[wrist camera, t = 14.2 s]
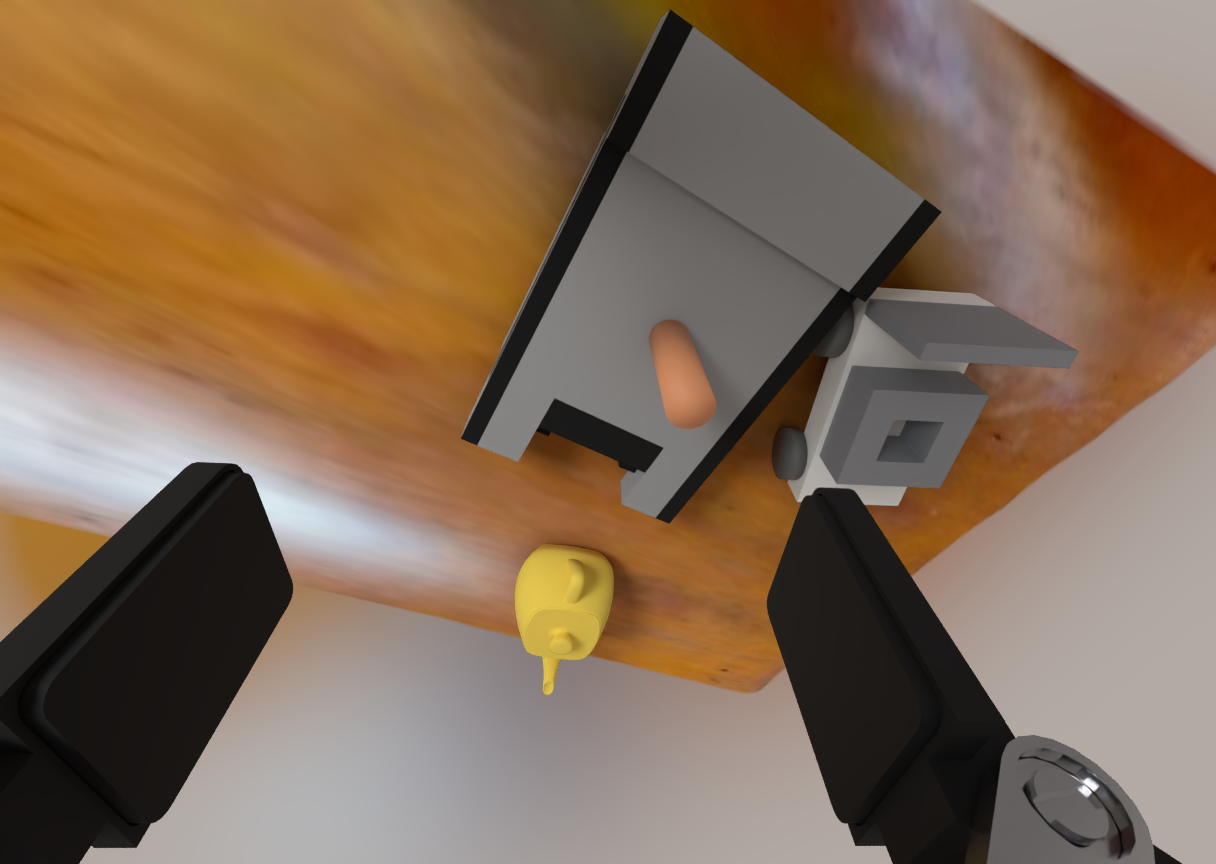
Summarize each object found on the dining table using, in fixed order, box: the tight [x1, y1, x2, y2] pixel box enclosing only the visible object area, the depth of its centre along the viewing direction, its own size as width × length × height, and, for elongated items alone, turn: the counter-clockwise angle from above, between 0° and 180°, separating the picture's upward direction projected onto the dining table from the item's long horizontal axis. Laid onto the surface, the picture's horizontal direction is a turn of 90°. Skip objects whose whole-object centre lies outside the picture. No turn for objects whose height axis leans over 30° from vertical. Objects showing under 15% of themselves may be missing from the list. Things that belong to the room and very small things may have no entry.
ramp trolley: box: [772, 287, 1079, 506], centre depth 44 cm, size 20×13×14 cm, turn 176°
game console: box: [461, 10, 941, 523], centre depth 42 cm, size 21×32×8 cm, turn 151°
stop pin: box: [649, 320, 716, 429], centre depth 35 cm, size 3×3×10 cm
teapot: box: [515, 543, 614, 695], centre depth 58 cm, size 18×11×11 cm, turn 167°
